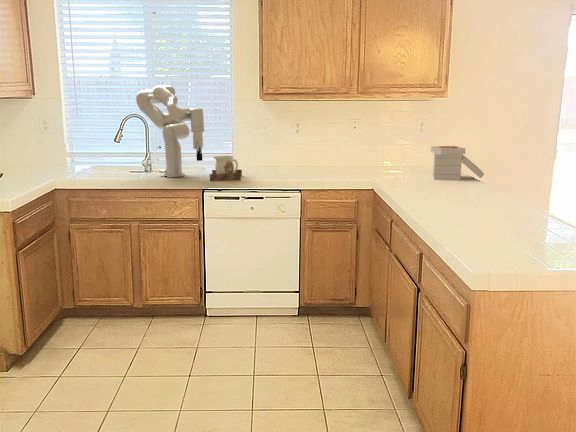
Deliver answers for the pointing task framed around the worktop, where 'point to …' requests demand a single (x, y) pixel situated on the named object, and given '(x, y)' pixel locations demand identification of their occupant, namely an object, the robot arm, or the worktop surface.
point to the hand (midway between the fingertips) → (199, 160)
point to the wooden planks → (226, 176)
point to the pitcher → (225, 165)
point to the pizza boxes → (451, 163)
